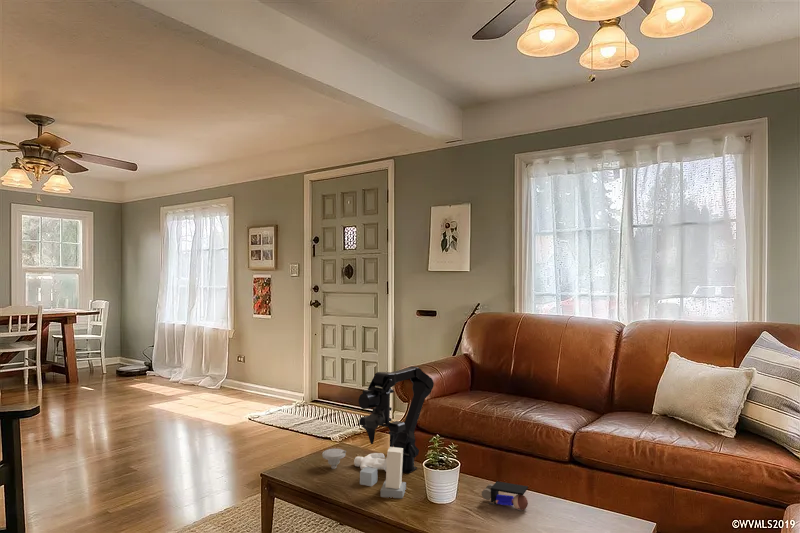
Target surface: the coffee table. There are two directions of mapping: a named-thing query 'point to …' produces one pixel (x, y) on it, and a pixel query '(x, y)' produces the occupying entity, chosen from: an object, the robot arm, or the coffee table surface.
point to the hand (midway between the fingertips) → (381, 446)
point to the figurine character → (517, 501)
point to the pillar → (394, 467)
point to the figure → (372, 461)
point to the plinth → (393, 491)
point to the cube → (368, 476)
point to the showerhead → (333, 456)
